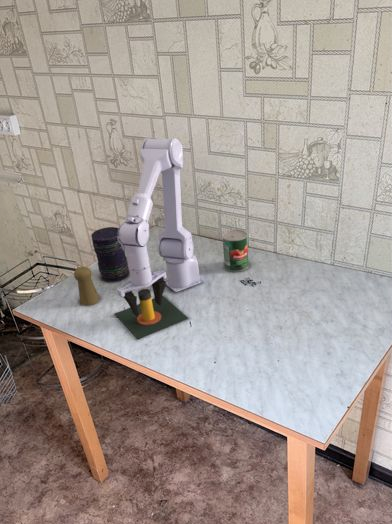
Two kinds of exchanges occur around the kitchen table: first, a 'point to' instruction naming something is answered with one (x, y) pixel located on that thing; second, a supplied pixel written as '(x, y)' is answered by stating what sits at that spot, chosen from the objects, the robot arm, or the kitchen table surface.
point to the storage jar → (110, 255)
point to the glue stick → (146, 304)
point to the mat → (163, 319)
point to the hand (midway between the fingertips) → (147, 308)
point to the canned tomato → (235, 250)
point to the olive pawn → (86, 286)
